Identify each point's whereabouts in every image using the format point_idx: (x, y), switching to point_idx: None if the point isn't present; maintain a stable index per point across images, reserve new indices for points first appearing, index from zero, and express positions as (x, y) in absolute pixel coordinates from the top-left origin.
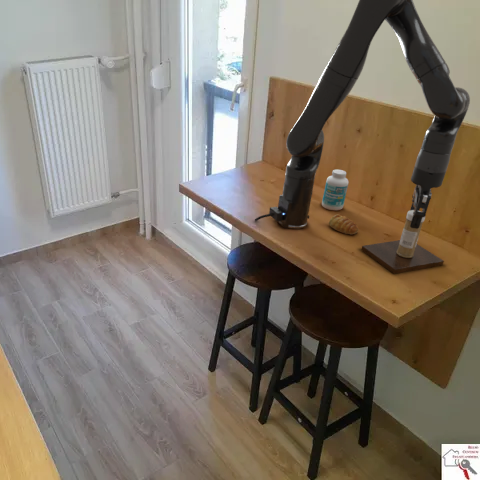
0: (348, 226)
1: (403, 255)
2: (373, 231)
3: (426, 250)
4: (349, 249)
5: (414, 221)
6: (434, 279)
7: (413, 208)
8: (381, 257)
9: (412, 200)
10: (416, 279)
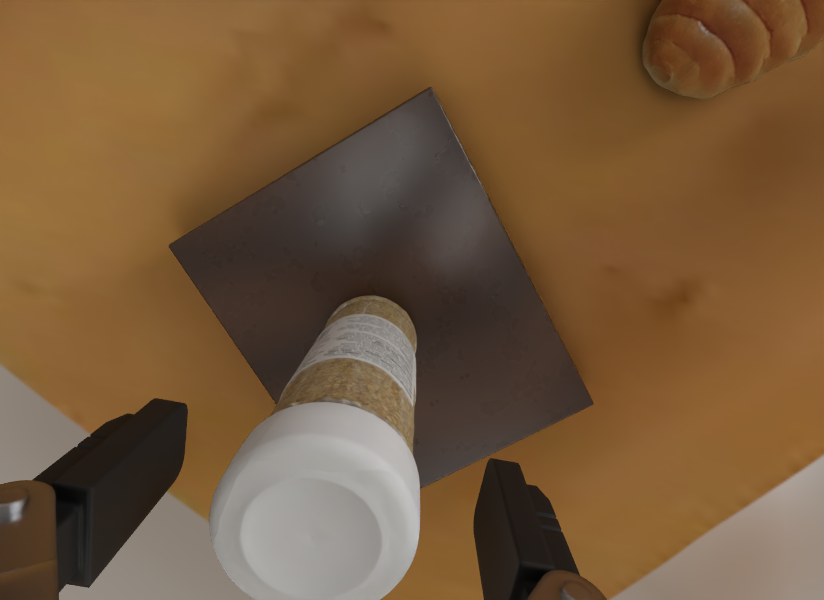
0: (703, 1)
1: (327, 325)
2: (721, 221)
3: (455, 466)
4: (422, 11)
5: (73, 457)
6: (199, 431)
7: (499, 533)
8: (294, 192)
9: (562, 592)
10: (166, 348)
